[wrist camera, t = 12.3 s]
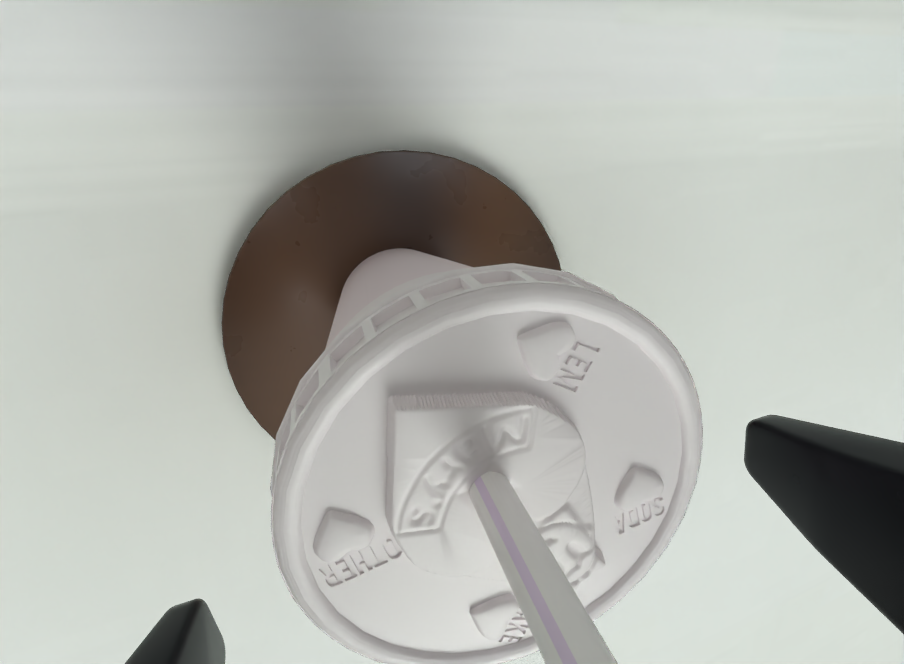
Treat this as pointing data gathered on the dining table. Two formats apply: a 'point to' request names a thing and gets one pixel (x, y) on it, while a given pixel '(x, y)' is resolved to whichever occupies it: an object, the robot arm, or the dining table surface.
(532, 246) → the coaster
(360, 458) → the smoothie
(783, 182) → the dining table surface
